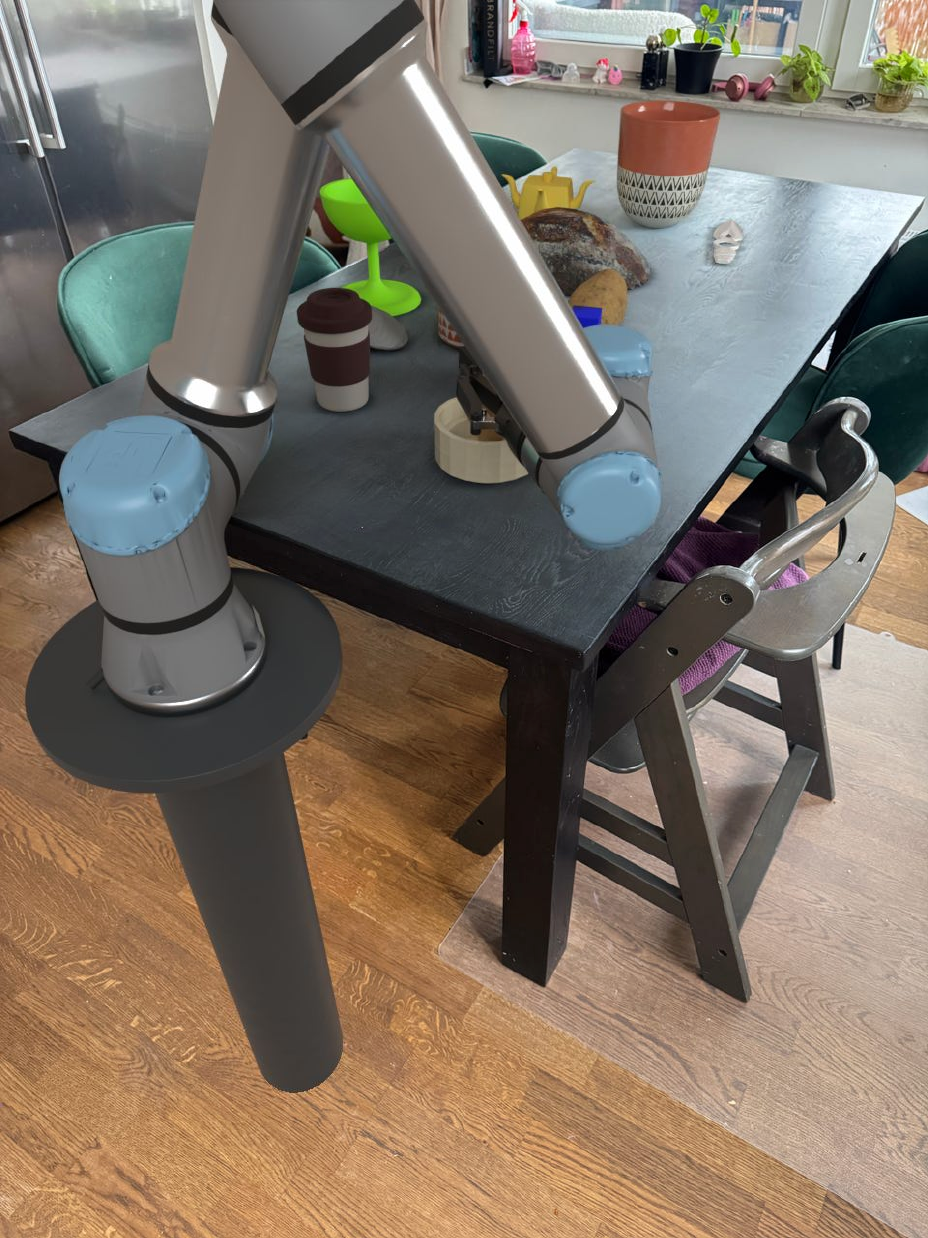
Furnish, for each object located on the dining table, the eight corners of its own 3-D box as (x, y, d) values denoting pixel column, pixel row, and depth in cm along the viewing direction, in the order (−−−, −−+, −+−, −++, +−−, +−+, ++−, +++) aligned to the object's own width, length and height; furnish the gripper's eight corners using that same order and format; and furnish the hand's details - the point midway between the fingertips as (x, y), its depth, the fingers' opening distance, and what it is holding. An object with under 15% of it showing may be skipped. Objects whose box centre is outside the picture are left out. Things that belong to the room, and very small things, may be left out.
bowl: (479, 499, 103) (480, 455, 100) (414, 454, 111) (412, 412, 107) (560, 463, 110) (564, 421, 106) (493, 423, 118) (494, 382, 114)
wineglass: (341, 322, 144) (330, 207, 132) (321, 289, 155) (310, 181, 143) (432, 311, 148) (430, 198, 136) (407, 279, 159) (402, 173, 147)
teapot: (592, 224, 184) (596, 175, 177) (539, 235, 178) (541, 185, 172) (551, 207, 193) (554, 160, 187) (499, 218, 187) (500, 169, 181)
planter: (602, 234, 179) (614, 117, 165) (615, 207, 193) (627, 98, 179) (697, 242, 175) (718, 123, 161) (703, 215, 189) (722, 103, 175)
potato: (549, 349, 136) (553, 290, 130) (586, 315, 146) (592, 259, 140) (600, 360, 133) (607, 300, 127) (635, 325, 143) (642, 268, 137)
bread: (507, 237, 177) (508, 184, 171) (663, 257, 168) (671, 202, 162) (458, 281, 158) (458, 224, 152) (632, 306, 149) (640, 246, 143)
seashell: (327, 343, 137) (363, 354, 131) (325, 306, 135) (362, 316, 128) (385, 336, 144) (422, 346, 138) (385, 300, 142) (423, 309, 135)
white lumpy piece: (706, 262, 166) (706, 258, 165) (717, 220, 186) (717, 216, 185) (737, 265, 164) (738, 261, 164) (745, 222, 185) (746, 218, 184)
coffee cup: (350, 424, 117) (340, 316, 108) (294, 407, 121) (279, 301, 111) (391, 395, 124) (385, 291, 114) (336, 379, 128) (325, 277, 118)
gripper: (478, 489, 90) (414, 392, 107) (618, 463, 94) (535, 373, 111) (479, 424, 85) (412, 333, 102) (626, 400, 89) (539, 316, 106)
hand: (476, 354), depth 106 cm, fingers closed on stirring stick, 3 cm apart
